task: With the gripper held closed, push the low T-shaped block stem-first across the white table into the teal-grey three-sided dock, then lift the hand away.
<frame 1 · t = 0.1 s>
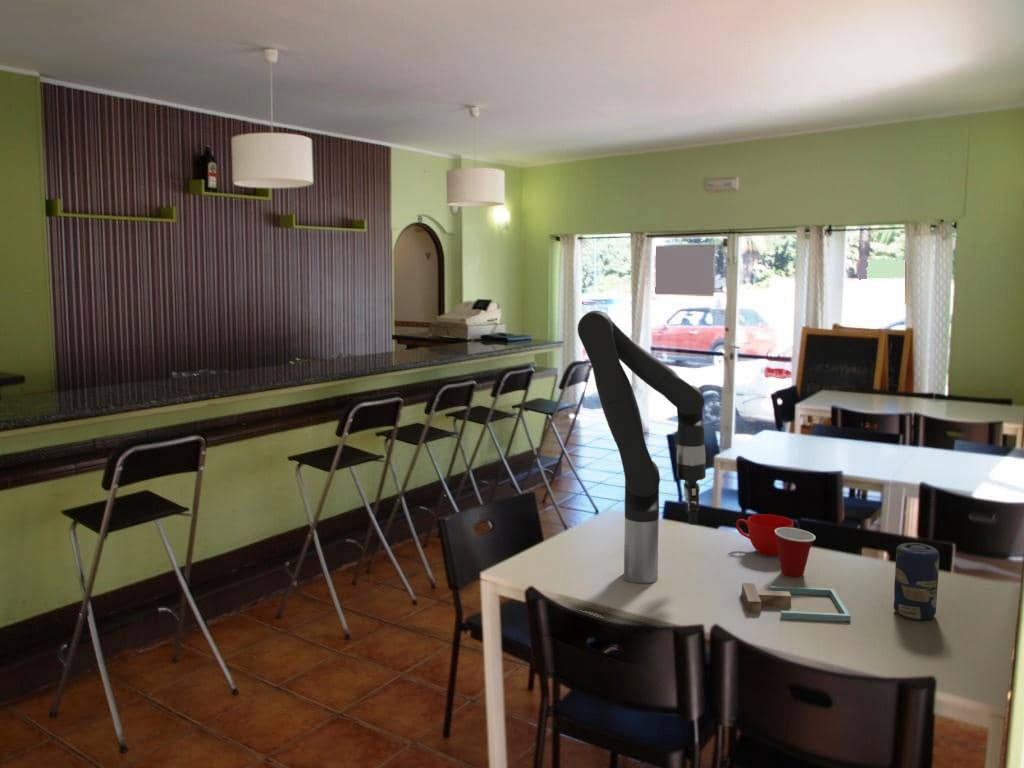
hand: (691, 519, 222), 17 cm above the table, tool pointing down, fingers open, 8 cm apart
dock: (806, 605, 207), on the table
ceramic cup: (762, 552, 247), on the table
canister: (913, 615, 202), on the table
t block: (767, 604, 208), on the table
plastic cup: (793, 574, 229), on the table
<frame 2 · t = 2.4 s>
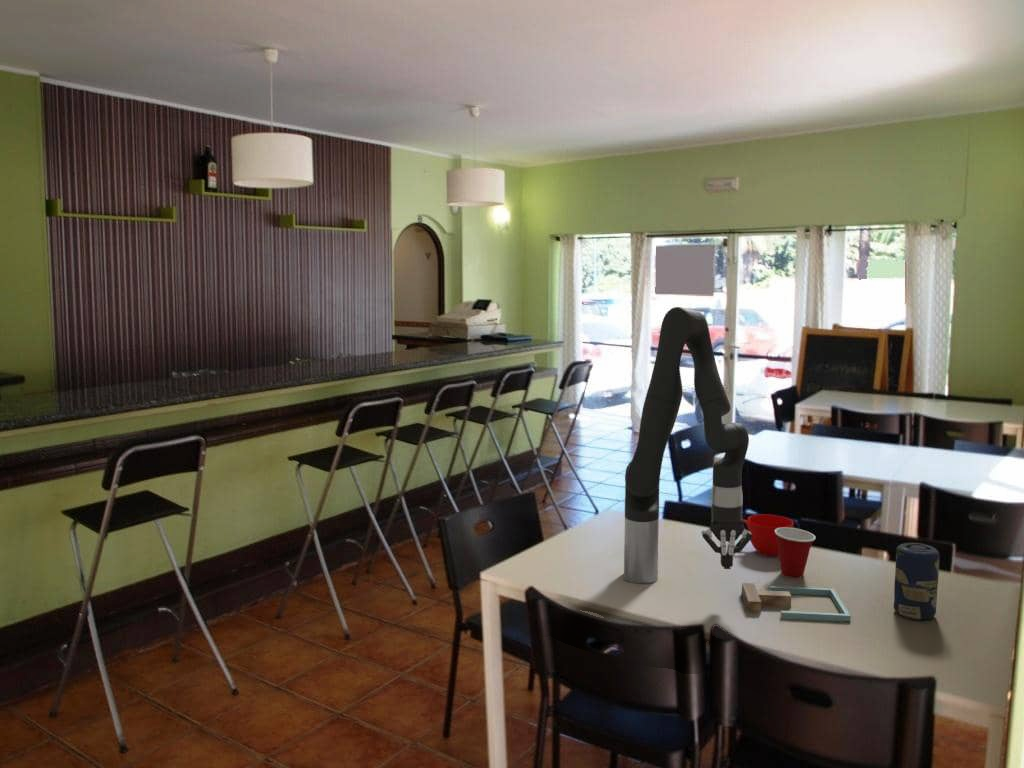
hand: (726, 567, 209), 9 cm above the table, tool pointing down, fingers closed
nothing on the table moved.
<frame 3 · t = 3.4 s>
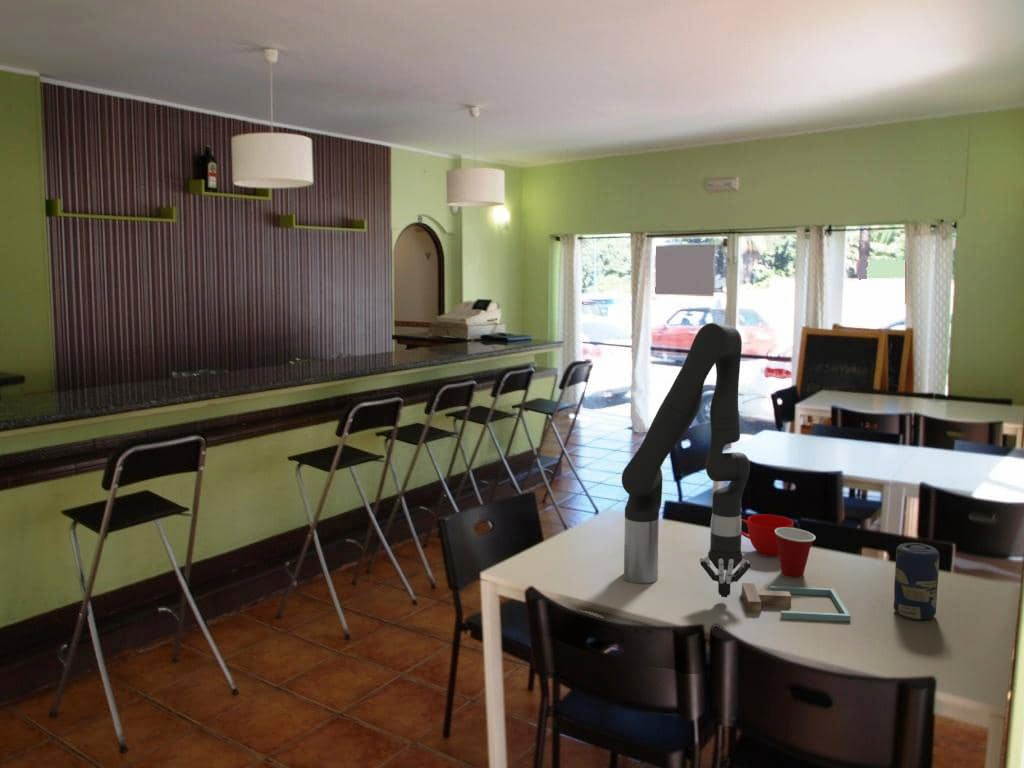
hand: (724, 596, 210), 2 cm above the table, tool pointing down, fingers closed
nothing on the table moved.
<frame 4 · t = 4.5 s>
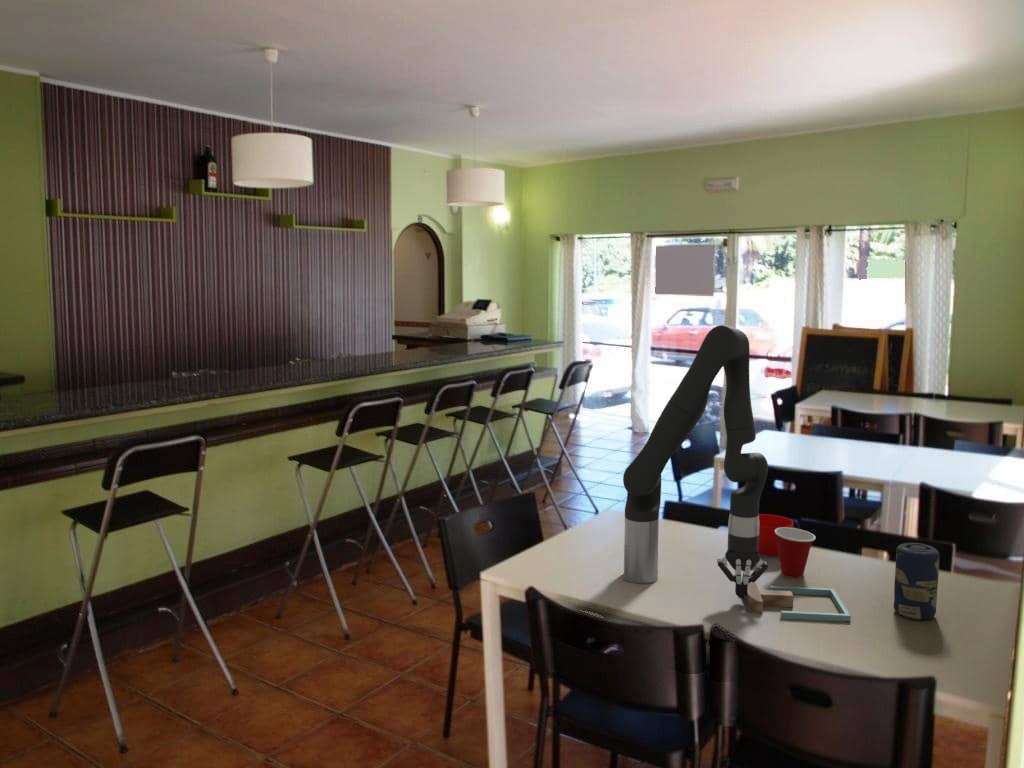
hand: (741, 596, 209), 2 cm above the table, tool pointing down, fingers closed
t block: (769, 603, 208), on the table, touching gripper
everything else where it was.
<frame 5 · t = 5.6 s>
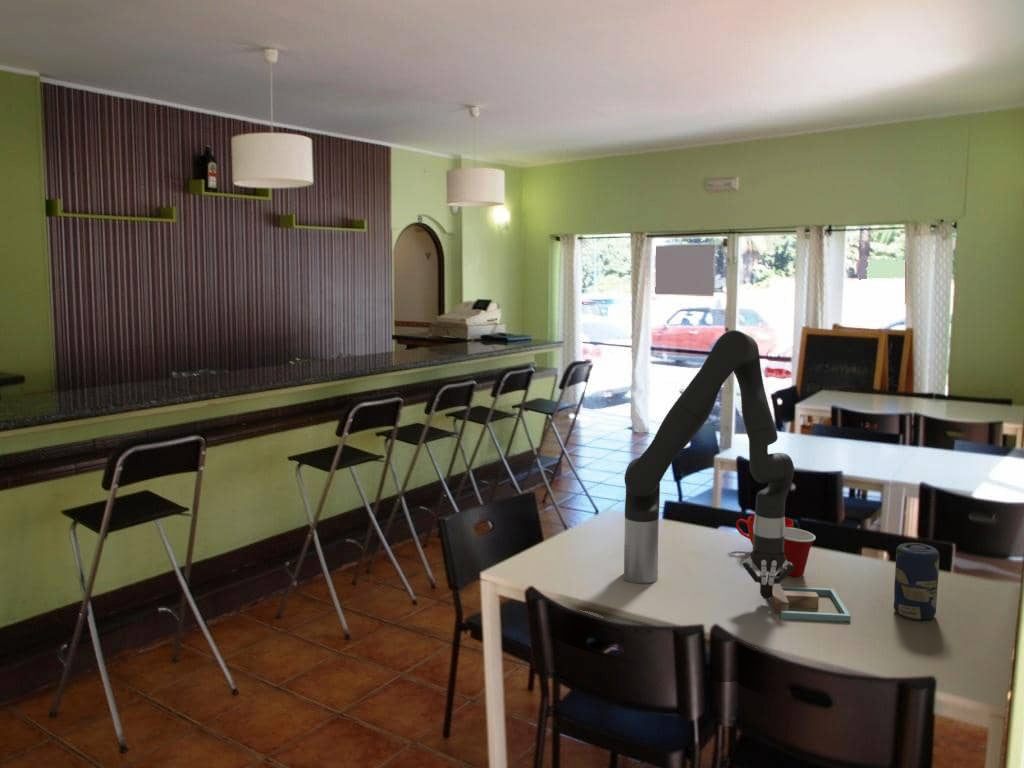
hand: (766, 597, 208), 2 cm above the table, tool pointing down, fingers closed
t block: (794, 604, 208), on the table, touching gripper
everything else where it was.
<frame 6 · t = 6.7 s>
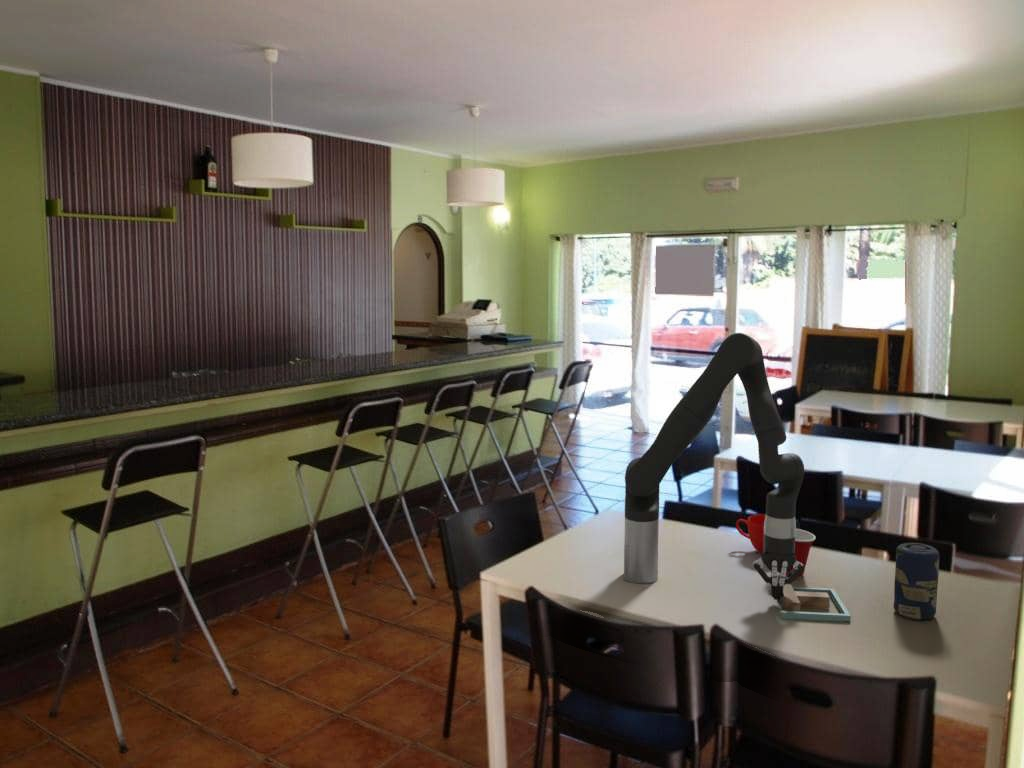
hand: (776, 598, 208), 2 cm above the table, tool pointing down, fingers closed
t block: (805, 605, 207), on the table, touching gripper
everything else where it was.
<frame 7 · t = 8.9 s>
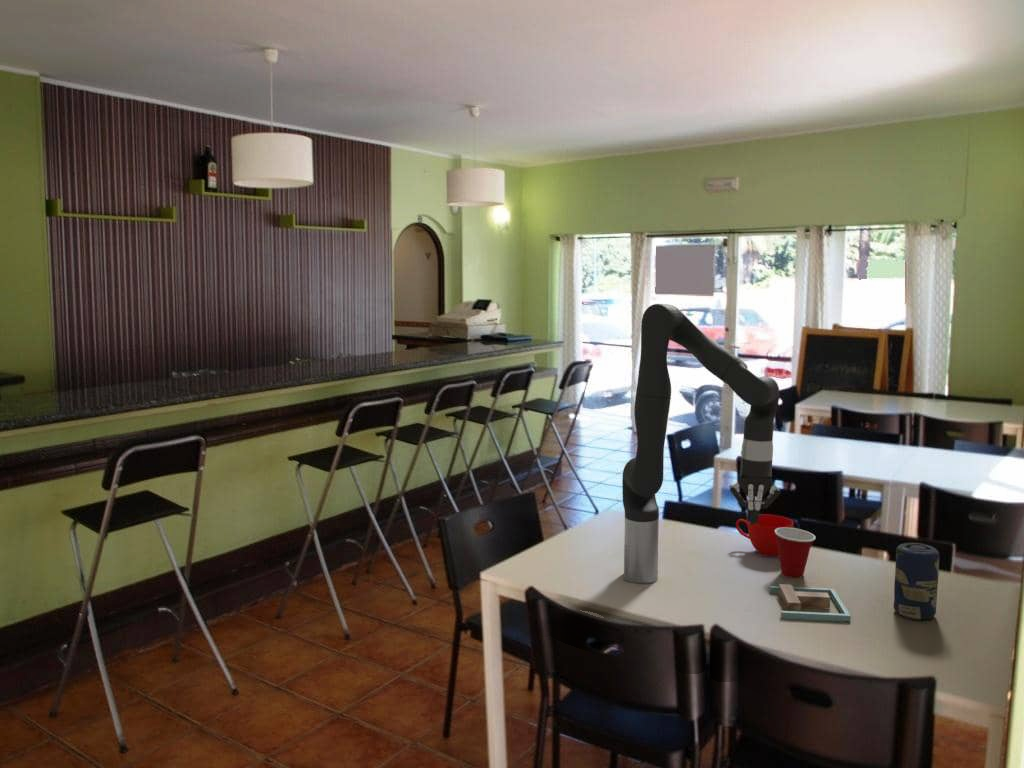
hand: (752, 523, 208), 20 cm above the table, tool pointing down, fingers closed
t block: (805, 605, 207), on the table
everything else where it was.
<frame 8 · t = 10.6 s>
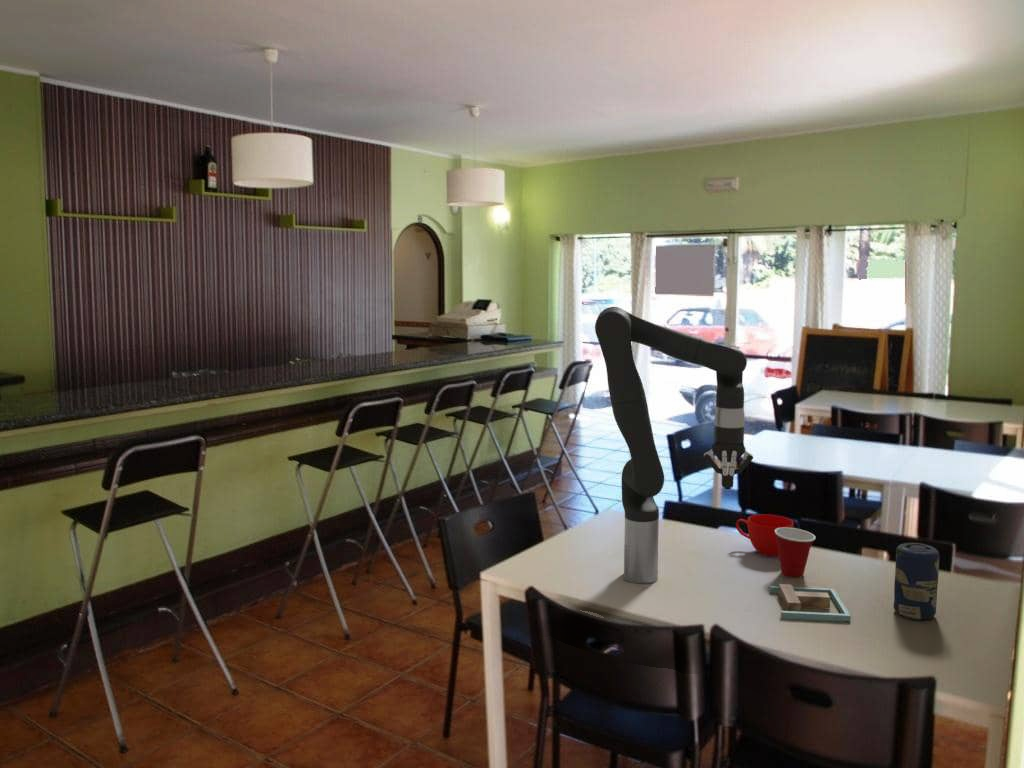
hand: (727, 488, 216), 27 cm above the table, tool pointing down, fingers closed
nothing on the table moved.
at the end: t block 0.7 cm off-centre on the dock, point 0.0 cm above the dock's base; t block moved 9.4 cm from its start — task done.
